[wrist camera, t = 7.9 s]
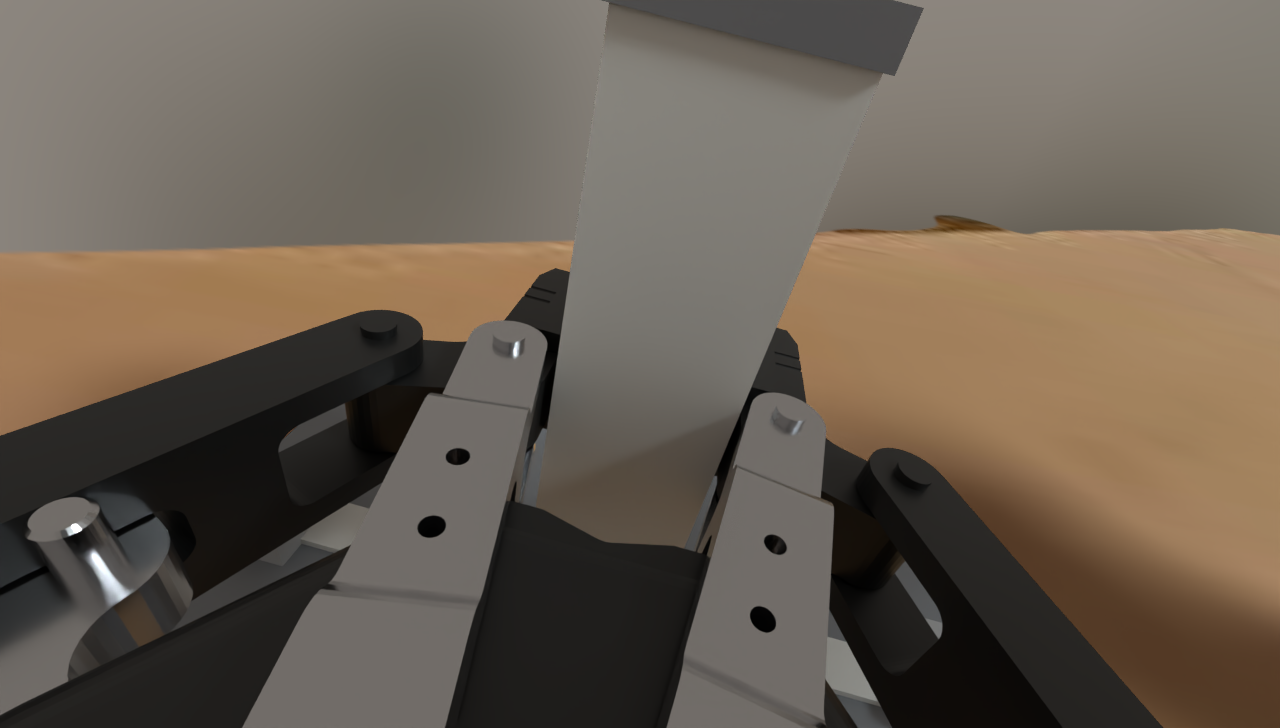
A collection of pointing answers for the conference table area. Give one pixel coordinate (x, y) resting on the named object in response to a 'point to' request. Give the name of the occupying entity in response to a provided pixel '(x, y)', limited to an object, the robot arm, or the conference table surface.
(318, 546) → the console
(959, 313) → the conference table surface
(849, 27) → the fader
